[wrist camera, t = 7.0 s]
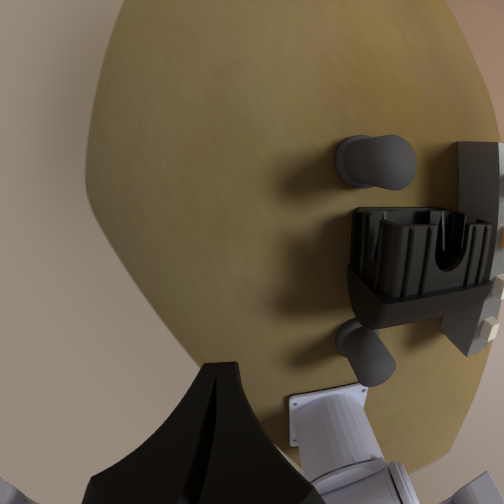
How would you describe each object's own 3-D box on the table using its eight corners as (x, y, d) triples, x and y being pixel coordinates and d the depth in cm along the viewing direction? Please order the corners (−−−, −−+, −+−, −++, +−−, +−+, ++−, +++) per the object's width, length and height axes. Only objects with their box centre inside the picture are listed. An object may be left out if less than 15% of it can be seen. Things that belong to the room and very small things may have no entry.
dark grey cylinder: (371, 347, 22) (394, 383, 17) (334, 355, 22) (351, 394, 17) (376, 313, 21) (403, 347, 16) (336, 321, 21) (357, 359, 16)
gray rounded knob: (382, 186, 18) (421, 195, 13) (336, 188, 18) (367, 197, 13) (378, 136, 17) (418, 131, 12) (332, 135, 17) (362, 127, 12)
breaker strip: (459, 323, 22) (492, 354, 16) (439, 329, 22) (473, 364, 16) (477, 144, 17) (527, 148, 11) (456, 141, 17) (509, 143, 11)
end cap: (340, 298, 21) (374, 350, 14) (345, 206, 18) (393, 229, 12) (438, 285, 21) (483, 321, 14) (448, 207, 19) (505, 226, 12)
